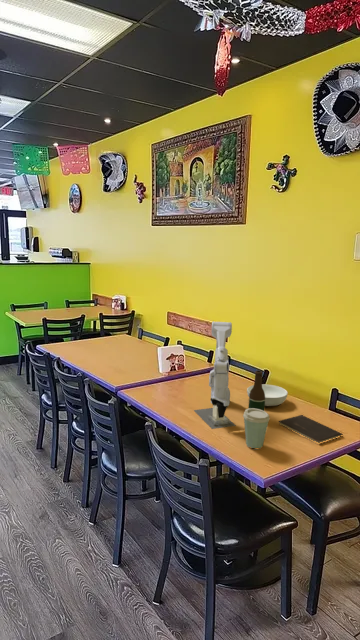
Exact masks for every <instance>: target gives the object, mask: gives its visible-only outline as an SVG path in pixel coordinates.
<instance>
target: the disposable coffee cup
mask: <svg viewBox="0 0 360 640" xmlns="http://www.w3.org/2000/svg"><path fill="white" fill-rule="evenodd" d="M242 416H243V422H244V433H245V444H246V447H248V448H249V447H251V448H260V449H262V448H263V446H264V442H265V438H266V433H267V431H268V430H267V429H268V424H269V421H270V415H269V413H268V412H267V411H265V410H264V411H263V410H260V409H255V408H249V409H248V408H246V409H245V410H244V412H243V415H242ZM261 447H262V448H261ZM251 448H250V449H251Z"/></svg>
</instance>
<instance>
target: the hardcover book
mask: <svg viewBox="0 0 360 640" xmlns="http://www.w3.org/2000/svg"><path fill="white" fill-rule="evenodd" d="M278 422H279V424H281V425H283V426H285V427H287V428H289V429H291V430H293V431H295V432H297V433H299V434H301V435H303V436H305V437H307V438H309V439H311V440H313V441H316V442H318V443H320V442H323V441H326V440H329V439H333V438H336V437H338V436H341V435H343V433H342V432H340V431H338V430H336V429H333V428H331V427H329V426H327V425H325V424H323V423H320V422H319V421H316V420H314V419H312V418H309V417H307V416H305V415H303V414H300V415H296V416H292V417H288V418H285V419H281V420H278ZM281 425H280V426H281ZM283 426H282V427H283ZM285 427H284V428H285ZM287 428H286V429H287ZM289 429H288V430H289ZM291 430H290V431H291ZM293 431H292V432H293ZM295 432H294V433H295ZM297 433H296V434H297ZM299 434H298V435H299ZM343 436H344V435H343Z"/></svg>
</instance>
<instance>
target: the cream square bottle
mask: <svg viewBox="0 0 360 640" xmlns="http://www.w3.org/2000/svg"><path fill="white" fill-rule="evenodd" d="M212 408H213V418H214V419H215V420H216V421H219V420H224V417H222V418H219V416H218V408H217V405H213V404H212Z"/></svg>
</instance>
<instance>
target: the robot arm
mask: <svg viewBox="0 0 360 640" xmlns="http://www.w3.org/2000/svg"><path fill="white" fill-rule="evenodd" d="M232 330H233V323H232V322H231V321H229V322H227V321H214V320H213V321H212V322H211V336H212V337H214V338H215V340H216V344H215V345H216V346H215V352H214V363H213V369H212V370H210V372H209V378H208V386H209V387H210V404H211V405H212V406H213V405H217V408H218V416H219V418H222V417H224V415H225V413H226V411H227V408H228V407H229V406H230V402H231V390H230V388H229V371H230V367H229V366H230V364H229V363H230V362H229V357H228V356H229V355H228V352H229V351H228V349H227V348H226V342H227V338H230V337H231V335H232V332H233V331H232Z"/></svg>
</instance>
